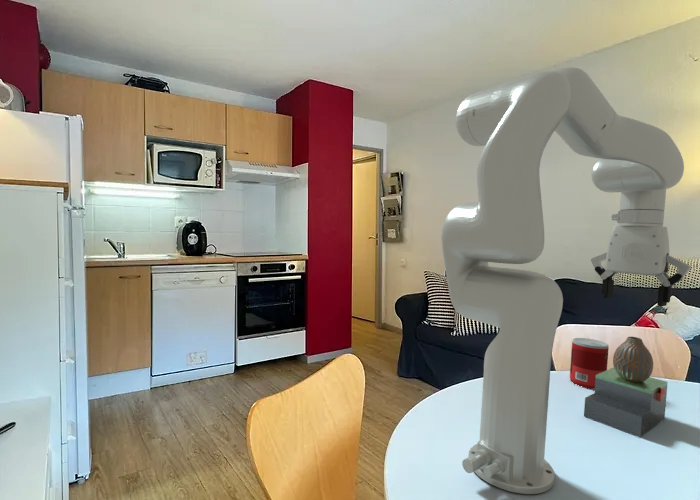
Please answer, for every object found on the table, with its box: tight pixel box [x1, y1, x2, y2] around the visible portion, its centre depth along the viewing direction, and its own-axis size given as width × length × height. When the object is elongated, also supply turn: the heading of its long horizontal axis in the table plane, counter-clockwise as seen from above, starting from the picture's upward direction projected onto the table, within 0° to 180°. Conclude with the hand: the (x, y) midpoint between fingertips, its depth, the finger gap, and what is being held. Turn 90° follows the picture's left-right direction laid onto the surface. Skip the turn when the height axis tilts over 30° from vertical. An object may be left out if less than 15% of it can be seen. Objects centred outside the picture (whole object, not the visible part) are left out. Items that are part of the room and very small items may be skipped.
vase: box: [612, 336, 654, 382], centre depth 83 cm, size 7×7×9 cm
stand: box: [583, 366, 669, 438], centre depth 82 cm, size 14×11×8 cm
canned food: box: [569, 337, 609, 390], centre depth 102 cm, size 8×8×11 cm
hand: (633, 301), depth 83 cm, fingers open, 9 cm apart
